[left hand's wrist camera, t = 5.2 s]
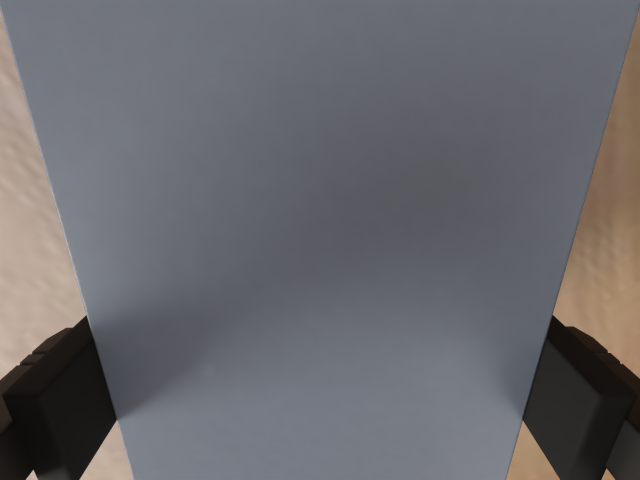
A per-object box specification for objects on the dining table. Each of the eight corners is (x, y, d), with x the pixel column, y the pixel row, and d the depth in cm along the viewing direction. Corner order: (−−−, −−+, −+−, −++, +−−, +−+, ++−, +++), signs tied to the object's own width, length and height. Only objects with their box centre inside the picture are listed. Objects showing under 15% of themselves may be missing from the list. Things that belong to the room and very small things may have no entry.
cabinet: (147, -179, 11) (-231, -784, 4) (491, -179, 11) (865, -780, 4) (213, 322, 18) (134, 488, 11) (426, 322, 18) (505, 488, 11)
